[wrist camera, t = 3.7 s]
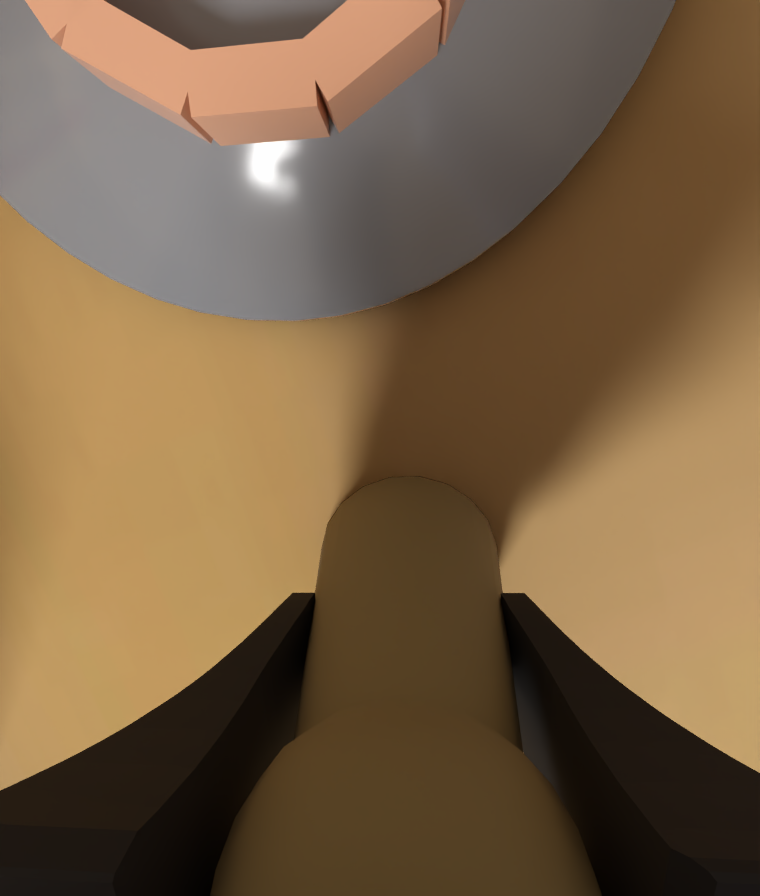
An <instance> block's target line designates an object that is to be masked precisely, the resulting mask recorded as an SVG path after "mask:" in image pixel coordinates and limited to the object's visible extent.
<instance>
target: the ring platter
mask: <svg viewBox="0 0 760 896" xmlns="http://www.w3.org/2000/svg"><path fill="white" fill-rule="evenodd" d="M675 1H676V0H0V196H1V197H3V198H4V199H5V200H6V201H7V202H8V203H9V204H10V205H11V206H12V207H13V208H14V209H15V210H16V211H17V212H18V213H19V214H20V215H21V216H22V217H23V218H24V219H25V220H26V221H27V222H29V223H30V224H31V225H33V226H34V227H35V228H37V229H38V230H39V231H40V232H42V233H43V234H44V235H46V236H47V237H48V238H49V239H51V240H52V241H53V242H55V243H56V244H57V245H58V246H60V247H61V248H62V249H64V250H65V251H66V252H67V253H69V254H71V255H72V256H74V257H76V258H77V259H79V260H81V261H82V262H84V263H86V264H87V265H89V266H90V267H92V268H94V269H95V270H97V271H99V272H100V273H102V274H104V275H105V276H107V277H109V278H110V279H112V280H115V281H117V282H119V283H121V284H123V285H126V286H128V287H130V288H132V289H135V290H137V291H139V292H141V293H144V294H146V295H148V296H150V297H152V298H155V299H158V300H161V301H164V302H168V303H171V304H174V305H178V306H181V307H184V308H188V309H191V310H194V311H198V312H202V313H208V314H214V315H221V316H227V317H233V318H240V319H246V320H266V321H307V320H315V319H323V318H332V317H340V316H346V315H350V314H353V313H357V312H361V311H365V310H369V309H372V308H376V307H380V306H384V305H387V304H390V303H392V302H394V301H397V300H399V299H402V298H404V297H406V296H409V295H411V294H414V293H416V292H418V291H421V290H423V289H426V288H428V287H430V286H432V285H433V284H435V283H437V282H438V281H440V280H442V279H444V278H445V277H447V276H449V275H451V274H452V273H454V272H456V271H457V270H459V269H461V268H463V267H464V266H466V265H468V264H470V263H471V262H472V261H474V260H475V259H476V258H477V257H479V256H480V255H481V254H483V253H484V252H485V251H487V250H488V249H489V248H491V247H492V246H493V245H494V244H496V243H497V242H498V241H500V240H501V239H502V238H504V237H505V236H506V235H508V234H509V233H510V232H511V231H512V230H513V229H514V228H515V227H516V226H517V225H518V224H519V223H520V222H521V221H522V220H523V219H525V218H526V217H527V216H528V215H529V214H530V213H531V212H532V211H533V210H534V209H535V208H536V207H537V206H538V205H539V204H540V203H541V202H542V201H543V200H544V199H545V198H546V197H547V196H548V195H549V194H550V193H551V192H552V191H553V190H554V189H555V188H556V187H557V186H558V185H559V184H560V183H561V182H562V181H563V180H564V179H565V177H566V176H567V175H568V174H569V173H570V171H571V170H572V169H573V168H574V166H575V165H576V164H577V163H578V161H579V160H580V159H581V158H582V157H583V155H584V154H585V153H586V152H587V150H588V149H589V148H590V147H591V145H592V144H593V143H594V142H595V141H596V139H597V138H598V137H599V136H600V134H601V133H602V132H603V130H604V129H605V127H606V125H607V124H608V122H609V121H610V119H611V118H612V116H613V115H614V113H615V112H616V110H617V108H618V107H619V105H620V104H621V102H622V101H623V99H624V98H625V96H626V95H627V93H628V91H629V90H630V88H631V87H632V85H633V84H634V82H635V81H636V79H637V78H638V76H639V74H640V72H641V70H642V68H643V66H644V64H645V62H646V60H647V58H648V56H649V54H650V53H651V51H652V49H653V47H654V45H655V43H656V41H657V39H658V37H659V35H660V33H661V31H662V29H663V27H664V25H665V23H666V21H667V19H668V17H669V15H670V13H671V11H672V9H673V6H674V4H675Z"/></svg>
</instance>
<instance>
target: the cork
mask: <svg viewBox="0 0 760 896" xmlns="http://www.w3.org/2000/svg"><path fill="white" fill-rule="evenodd" d="M501 593H503V592H502V584H501V576H500V569H499V561H498V553H497V546H496V542H495V539H494V536H493V534H492V531H491V528H490V525H489V522H488V520H487V519H486V517H485V516H484V515H483V514H482V513H481V511H480V510H479V509H478V508H477V506H476V505H475V504H474V503H473V501H472V500H471V499H470V498H468V497H466V496H465V495H463V494H462V493H460V492H459V491H457V490H455V489H454V488H452V487H451V486H449V485H448V484H445V483H441V482H438V481H434V480H430V479H426V478H423V477H419V476H416V477H389V478H387V479H384V480H381V481H378V482H375V483H372V484H369V485H366V486H364V487H362V488H361V489H359V490H358V491H357V492H355V493H354V494H353V495H352V496H350V497H349V498H348V499H346V500H345V501H344V502H342V503H341V505H340V506H339V508H338V509H337V511H336V512H335V514H334V515H333V517H332V518H331V520H330V521H329V523H328V524H327V528H326V533H325V537H324V541H323V545H322V549H321V556H320V563H319V570H318V577H317V583H316V590H315V605H314V611H313V616H312V622H311V627H310V633H309V638H308V645H307V651H306V658H305V665H304V672H303V679H302V686H301V692H300V699H299V706H298V713H297V720H296V726H295V733H294V740H293V741H291V742H290V743H288V744H287V745H286V746H284V747H283V748H282V750H281V751H280V752H279V754H278V755H277V756H276V757H275V759H274V760H273V761H272V763H271V764H270V765H269V766H268V768H267V769H266V770H265V772H264V773H263V774H262V776H261V777H260V778H259V780H258V781H257V783H256V785H255V786H254V788H253V789H252V791H251V793H250V794H249V796H248V798H247V799H246V801H245V802H244V804H243V806H242V807H241V809H240V810H239V812H238V814H237V815H236V817H235V819H234V822H233V824H232V827H231V830H230V832H229V835H228V838H227V840H226V843H225V846H224V848H223V851H222V854H221V856H220V859H219V862H218V864H217V867H216V870H215V875H214V879H213V884H212V888H211V893H210V896H602V893H601V890H600V888H599V885H598V882H597V879H596V876H595V873H594V871H593V868H592V865H591V863H590V860H589V857H588V854H587V852H586V849H585V846H584V844H583V841H582V838H581V836H580V833H579V830H578V828H577V826H576V825H575V823H574V821H573V819H572V818H571V816H570V814H569V813H568V811H567V809H566V808H565V806H564V804H563V802H562V801H561V799H560V797H559V796H558V794H557V792H556V790H555V789H554V787H553V785H552V784H551V783H550V782H549V781H548V780H547V779H546V778H545V776H544V775H543V774H542V773H541V772H540V771H539V770H538V769H537V768H536V767H535V765H534V764H533V763H532V762H531V761H530V760H529V759H528V758H527V757H526V755H525V754H524V753H523V747H522V739H521V731H520V723H519V716H518V708H517V700H516V692H515V685H514V677H513V669H512V662H511V654H510V646H509V639H508V634H507V629H506V624H505V619H504V614H503V609H502V604H501V599H500V598H501Z"/></svg>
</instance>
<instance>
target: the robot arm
mask: <svg viewBox="0 0 760 896" xmlns="http://www.w3.org/2000/svg"><path fill="white" fill-rule="evenodd" d="M500 599H501V604H502V609H503V614H504V619H505V624H506V629H507V634H508V639H509V646H510V654H511V662H512V669H513V677H514V685H515V692H516V700H517V708H518V716H519V723H520V731H521V739H522V747H523V752H524V754H525V755H526V757H527V758H528V759H529V760H530V761H531V762H532V763H533V764H534V765H535V767H536V768H537V769H538V770H539V771H540V772H541V773H542V774H543V775H544V776H545V778H546V779H547V780H548V781H549V782H550V783H551V784H552V785H553V787H554V789H555V790H556V792H557V794H558V796H559V797H560V799H561V801H562V802H563V804H564V806H565V808H566V809H567V811H568V813H569V814H570V816H571V818H572V819H573V821H574V823H575V825H576V826H577V828H578V830H579V833H580V836H581V838H582V841H583V844H584V846H585V849H586V852H587V854H588V857H589V860H590V863H591V865H592V868H593V871H594V873H595V876H596V879H597V882H598V885H599V888H600V890H601V893H602V896H760V773H758V772H757V771H755V770H753V769H751V768H750V767H748V766H746V765H744V764H742V763H741V762H739V761H737V760H735V759H733V758H732V757H730V756H728V755H727V754H725V753H723V752H722V751H720V750H718V749H717V748H715V747H713V746H712V745H710V744H708V743H707V742H705V741H704V740H702V739H701V738H699V737H697V736H696V735H694V734H693V733H691V732H690V731H688V730H687V729H685V728H683V727H682V726H680V725H679V724H677V723H676V722H674V721H673V720H671V719H670V718H668V717H667V716H665V715H664V714H662V713H661V712H659V711H658V710H657V709H655V708H654V707H652V706H651V705H650V704H648V703H647V702H646V701H644V700H643V699H641V698H640V697H639V696H637V695H636V694H635V693H633V692H632V691H631V690H629V689H628V688H627V687H625V686H624V685H623V684H621V683H620V682H619V681H618V680H616V679H615V678H614V677H613V676H611V675H610V674H609V673H608V672H607V671H606V670H604V669H603V668H602V667H601V666H600V665H598V664H597V663H596V662H595V661H594V660H593V659H591V658H590V657H589V656H588V655H587V654H586V653H585V652H583V651H582V650H581V649H580V648H579V647H578V646H577V645H576V644H575V643H574V642H573V641H572V640H571V639H570V638H568V637H567V636H566V635H565V634H564V633H563V632H562V631H561V630H560V629H559V628H558V627H557V626H556V625H555V624H554V623H553V622H552V621H551V620H550V619H549V618H548V617H547V616H546V615H545V614H544V613H543V612H542V611H541V610H540V609H539V607H538V606H537V605H536V604H535V603H534V602H533V601H532V600H531V599H530V598H529V597H528V596H527V595H526V594H525V593H501V598H500ZM314 605H315V593H292V594H291V595H290V596H289V597H288V598H287V599H286V600H285V601H284V602H283V603H282V604H281V605H280V606H279V607H278V608H277V609H276V610H275V611H274V612H273V613H272V614H271V615H270V616H269V617H268V618H267V619H266V620H265V621H264V622H263V623H262V624H261V625H260V626H259V627H257V628H256V629H255V630H254V631H253V632H252V633H251V634H250V635H249V636H248V637H247V638H246V639H245V640H244V641H243V642H242V643H240V644H239V645H238V646H237V647H236V648H235V649H233V650H232V651H231V652H230V653H229V654H228V655H227V656H225V657H224V658H223V659H222V660H221V661H220V662H218V663H217V664H216V665H215V666H214V667H212V668H211V669H210V670H209V671H207V672H206V673H205V674H204V675H202V676H201V677H200V678H198V679H197V680H196V681H194V682H193V683H192V684H190V685H189V686H188V687H186V688H185V689H183V690H182V691H181V692H179V693H178V694H176V695H175V696H174V697H172V698H171V699H169V700H168V701H166V702H164V703H163V704H161V705H160V706H158V707H157V708H155V709H154V710H152V711H150V712H149V713H147V714H146V715H144V716H143V717H141V718H139V719H138V720H136V721H135V722H133V723H132V724H130V725H128V726H127V727H125V728H123V729H121V730H120V731H118V732H116V733H114V734H113V735H111V736H109V737H107V738H106V739H104V740H102V741H100V742H98V743H97V744H95V745H93V746H91V747H89V748H87V749H85V750H84V751H82V752H80V753H78V754H76V755H74V756H72V757H70V758H68V759H66V760H64V761H62V762H60V763H58V764H56V765H54V766H52V767H50V768H48V769H46V770H43V771H41V772H39V773H37V774H35V775H33V776H31V777H29V778H27V779H24V780H22V781H20V782H18V783H16V784H14V785H12V786H10V787H7V788H5V789H3V790H1V791H0V896H210V893H211V888H212V884H213V879H214V875H215V870H216V867H217V864H218V862H219V859H220V856H221V854H222V851H223V848H224V846H225V843H226V840H227V838H228V835H229V832H230V830H231V827H232V824H233V822H234V819H235V817H236V815H237V814H238V812H239V810H240V809H241V807H242V806H243V804H244V802H245V801H246V799H247V798H248V796H249V794H250V793H251V791H252V789H253V788H254V786H255V785H256V783H257V781H258V780H259V778H260V777H261V776H262V774H263V773H264V772H265V770H266V769H267V768H268V766H269V765H270V764H271V763H272V761H273V760H274V759H275V757H276V756H277V755H278V754H279V752H280V751H281V750H282V748H283V747H284V746H286V745H287V744H288V743H290V742H291V741H293V740H294V733H295V726H296V720H297V713H298V706H299V699H300V692H301V686H302V679H303V672H304V665H305V658H306V651H307V645H308V638H309V633H310V627H311V622H312V616H313V611H314Z"/></svg>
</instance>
